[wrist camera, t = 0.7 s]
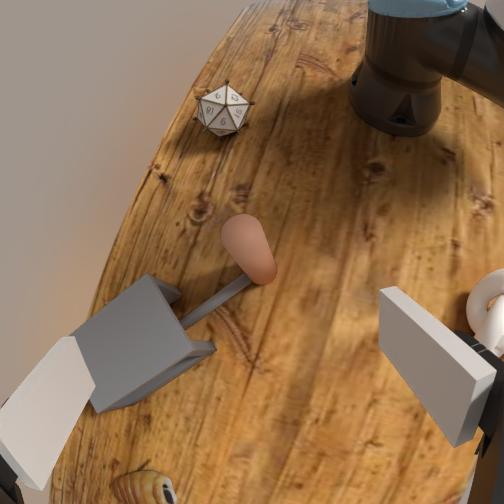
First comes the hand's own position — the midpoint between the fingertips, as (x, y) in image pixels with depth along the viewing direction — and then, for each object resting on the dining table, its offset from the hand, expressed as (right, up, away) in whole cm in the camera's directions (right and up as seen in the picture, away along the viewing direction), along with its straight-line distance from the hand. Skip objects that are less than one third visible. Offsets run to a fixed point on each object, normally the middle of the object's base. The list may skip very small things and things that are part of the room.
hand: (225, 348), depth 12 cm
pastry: (-13, -29, +21) cm, 37 cm away
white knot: (+32, -6, +20) cm, 38 cm away
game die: (-2, +23, +34) cm, 41 cm away
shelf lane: (-11, -8, +26) cm, 30 cm away
